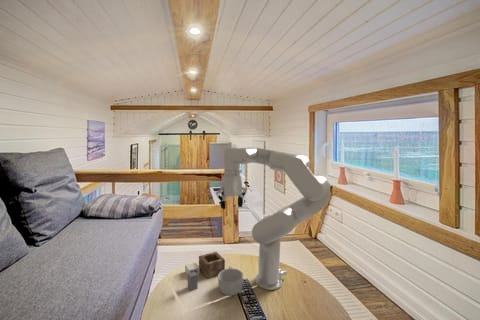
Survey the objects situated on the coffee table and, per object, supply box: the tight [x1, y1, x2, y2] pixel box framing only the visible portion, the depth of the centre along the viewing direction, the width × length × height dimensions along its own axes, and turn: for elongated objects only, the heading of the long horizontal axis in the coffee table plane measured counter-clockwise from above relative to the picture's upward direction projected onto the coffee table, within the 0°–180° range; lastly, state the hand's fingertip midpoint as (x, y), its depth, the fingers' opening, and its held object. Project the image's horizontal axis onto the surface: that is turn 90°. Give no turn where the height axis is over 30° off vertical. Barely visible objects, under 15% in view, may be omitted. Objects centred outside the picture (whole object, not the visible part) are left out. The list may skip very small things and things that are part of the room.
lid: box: [187, 271, 199, 292], centre depth 108 cm, size 10×10×8 cm
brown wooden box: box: [198, 251, 226, 280], centre depth 122 cm, size 10×10×8 cm
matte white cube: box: [184, 261, 200, 276], centre depth 120 cm, size 5×6×5 cm
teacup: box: [217, 266, 244, 297], centre depth 109 cm, size 14×11×8 cm
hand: (231, 207), depth 122 cm, fingers open, 9 cm apart
